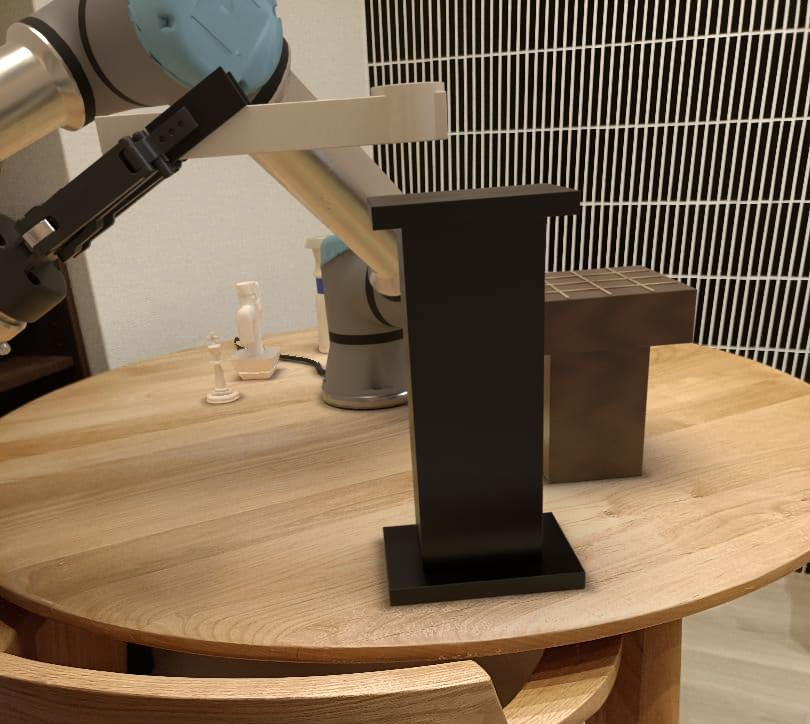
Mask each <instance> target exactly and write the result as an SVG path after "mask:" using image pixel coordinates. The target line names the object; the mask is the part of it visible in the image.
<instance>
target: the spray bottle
mask: <svg viewBox="0 0 810 724" xmlns="http://www.w3.org/2000/svg"><path fill="white" fill-rule="evenodd" d="M329 235H334V234H333V233H322V234H315V235H310V236H307V237H306V240H305V243H304V248H305V249H309V250H312V254H313V257H314V262H315V264H314V269H313V271H312V275H313V277H315V284H316V285H315V286H316V295H315V310H316V320H317V321H316V322H317V332H318V350H319V352H320V353H323V354H328V353H329V348H330V341H329V331H328V324H327V315H326V307H325V299H324V291H323V283H322V274H321V269H320V265H321V251H320V246H321V243H322V241H323V239H324V238H325V237H327V236H329ZM319 345H320V346H319ZM324 347H326V348H324Z"/></svg>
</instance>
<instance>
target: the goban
mask: <svg viewBox="0 0 810 724" xmlns="http://www.w3.org/2000/svg"><path fill="white" fill-rule="evenodd" d="M697 299H698V289H697V288H695V287H693V286H692V285H691V286H690V285H688V284H687V283H684V282H682V281H679V280H676V279H674V278H673V277H672V278H671V277H670V276H667V275H665V274H663V273H660V272H658V271H655V270H653V269H650V268H648V267H646V266H644V265H640V264H639V265H628V266H613V267H602V268H590V269H589V268H587V269H576V270H572V269H571V270H564V271H563V270H562V271H552V272H545V336H544V442H543V477H544V478H545V480H546V481H547V483H548V484H559V483H560V484H562V483H571V482H583V481H594V480H605V479H618V478H628V477H639V476H640V477H641V476H643V465H644V464H643V463H644V462H643V461H644V448H645V447H644V446H645V436H646V435H645V434H646V419H647V417H646V416H647V402H648V390H649V389H648V388H649V373H650V360H651V359H650V358H651V347H660V346H661V347H662V346H675V345H684V344H693V342H694V333H695V320H696V309H697Z"/></svg>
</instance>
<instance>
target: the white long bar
mask: <svg viewBox="0 0 810 724" xmlns="http://www.w3.org/2000/svg"><path fill="white" fill-rule="evenodd" d="M445 88H446V87H445V82H444V81H420V82H419V81H418V82H403V83H394V84H385V85H384V84H383V85H377V86H371V87H370V96H358V97H357V96H355V97H343V98H331V99H329V98H328V99H317V100H315V101H301V102H287V103H274V104H260V105H246V106H245V107H244V108H243V109H241V110H240V111H239V112H238V113H236V114H235V115H234V116H233V117H231V118H230V119H229V120H227V121H226V122H225V123H224V124H222V125H221V126H220V127H219V128H217V129H216V130H215V131H214V132H212V133H211V134H210V135H209V136H207V137H206V138H205V139H204V140H202V141H201V142H200V143H199V144H197V145H196V146H195V147H193V148H192V149H191V150H190V151H188V152H187V153H186V154H185V155H183V156H182V157H181V158H180V159H188V160H190V159H191V160H193V159H207V158H218V157H233V156H245V155H248V154H260V153H274V152H287V151H300V150H314V149H327V148H340V147H354V146H360V147H367V146H379V145H391V144H392V145H393V144H406V143H407V144H408V143H421V142H422V143H423V142H432V141H446V140H448V139H449V128H448V127H449V126H448V103H447V102H448V101H447V91H446V90H445ZM163 112H164V111H152V112H151V111H150V112H139V113H137V112H136V113H128V114H127V113H126V114H125V113H124V114H111V115H108V116H96V117H95V121H94V123H95V127H96V133H97V137H98V142H99V146H100V151H101V157H102V156H103V155H104V154H105V153H107V152H108V151H109V150H110V149H112V148H113V147H114V146H115V145H116V144H118V141H119V140H120V139H121V138H123V137H126V136H130V137H131V138H132V135H133V134H134V133H135V132H137V131H138V132H140V131H142V130H144V131H145V132H146V134H147V135H149V133H148V131H147V130H146V128H145V127H146V126H147V125H148V124H149V123H150V122H152V121H153V120H154V119H155V118H157V117H158V116H159V115H160V114H161V113H163ZM163 157H164V158H165V160H166V161H167V160H168V158H167V157H166V156H165V155H164V156H163ZM180 159H178V160H180Z"/></svg>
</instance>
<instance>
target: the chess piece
mask: <svg viewBox="0 0 810 724" xmlns="http://www.w3.org/2000/svg"><path fill="white" fill-rule="evenodd" d="M209 333H210V336H206V341H207V342H208V341H211V344H208V345H207V350H208V351H209V353H210V356H211V358H212V359H211V360H210V362H209V364H210V365H211V366H214V380H215V382H214V383H215V387H214V388H213V391H215V392H219V393H223V392H227V391H229V389H230V386H229V385H227V381H226V379H225V376H224V375H225V374H224V371H223V368H222V365H223V364H225V360H224V359H222V358H221V353H222V344H220V343H217V342H216V341H218V340H220V335H215V332H214V331H211V332H209ZM231 389H232V390H234V391H235V392H234V393H232V394H229V395H224V396H212V395H210V393H211V392H209V393H208V394H207V395H206V402H207V403H210V404H214V405H215V404H217V405H218V404H226V403H227V404H228V403H231V402H235V401H238V399H240V395H239V391H238V390H236V389H233V388H231Z"/></svg>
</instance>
